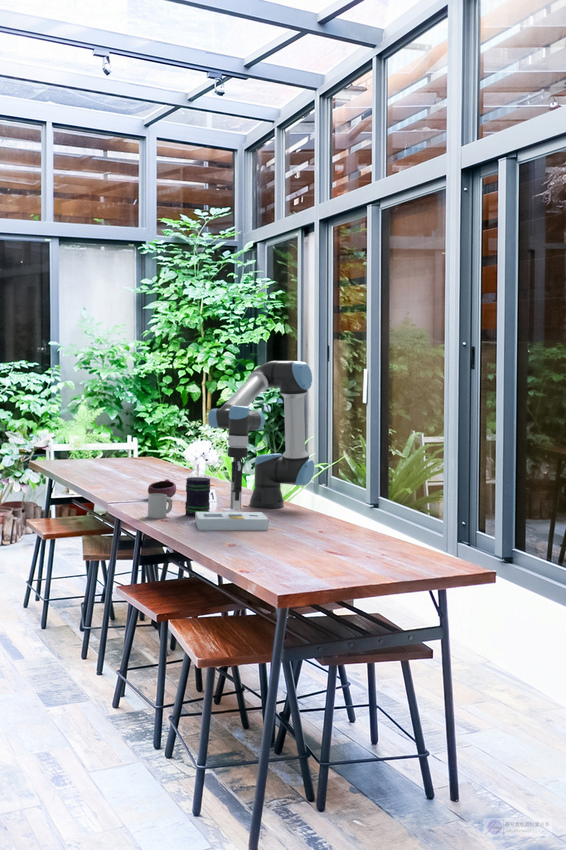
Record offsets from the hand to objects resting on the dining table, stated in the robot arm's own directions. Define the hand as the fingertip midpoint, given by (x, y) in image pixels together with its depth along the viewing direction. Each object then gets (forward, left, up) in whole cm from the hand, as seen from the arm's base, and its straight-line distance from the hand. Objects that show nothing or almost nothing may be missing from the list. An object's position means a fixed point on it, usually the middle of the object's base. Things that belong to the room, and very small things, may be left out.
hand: (235, 507), depth 308 cm
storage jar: (-23, -12, -7) cm, 27 cm away
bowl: (-66, -25, -7) cm, 71 cm away
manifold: (0, -1, -7) cm, 7 cm away
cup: (-19, -27, -7) cm, 34 cm away
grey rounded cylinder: (0, 0, 0) cm, 0 cm away
